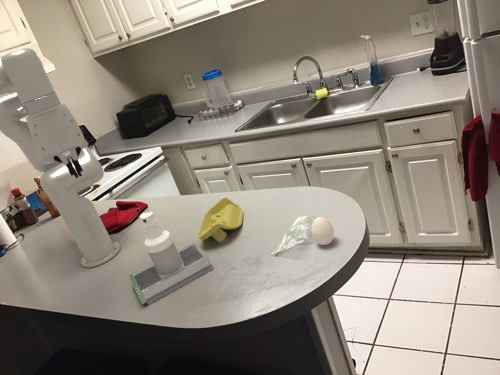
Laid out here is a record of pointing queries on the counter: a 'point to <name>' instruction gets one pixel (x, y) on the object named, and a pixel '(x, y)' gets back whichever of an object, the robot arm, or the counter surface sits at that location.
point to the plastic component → (220, 220)
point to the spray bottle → (160, 247)
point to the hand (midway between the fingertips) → (78, 175)
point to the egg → (322, 231)
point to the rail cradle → (170, 276)
